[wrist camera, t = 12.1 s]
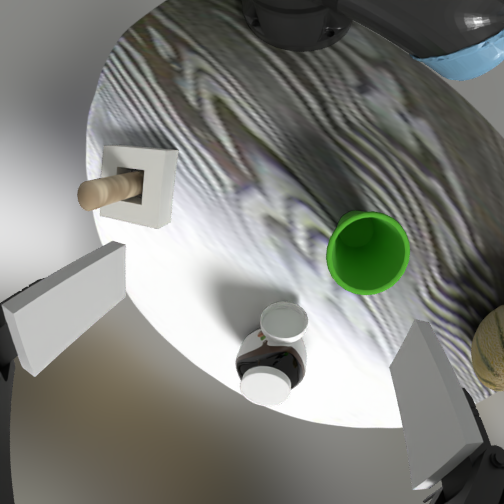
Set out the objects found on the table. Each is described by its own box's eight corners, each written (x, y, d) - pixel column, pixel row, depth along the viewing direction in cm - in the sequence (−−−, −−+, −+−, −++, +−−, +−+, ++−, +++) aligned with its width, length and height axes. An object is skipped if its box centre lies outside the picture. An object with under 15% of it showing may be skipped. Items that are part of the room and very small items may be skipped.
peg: (134, 169, 42) (77, 179, 29) (153, 171, 41) (98, 182, 29) (132, 191, 43) (77, 208, 31) (151, 194, 42) (97, 213, 30)
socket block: (119, 144, 41) (103, 145, 37) (178, 150, 39) (165, 150, 36) (114, 210, 45) (99, 215, 41) (170, 222, 43) (158, 229, 39)
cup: (389, 198, 36) (415, 215, 25) (382, 261, 39) (402, 297, 28) (324, 194, 37) (329, 209, 27) (321, 258, 40) (323, 294, 30)
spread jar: (257, 363, 49) (242, 411, 38) (230, 311, 46) (207, 356, 35) (323, 348, 45) (322, 399, 34) (302, 291, 43) (296, 336, 32)
